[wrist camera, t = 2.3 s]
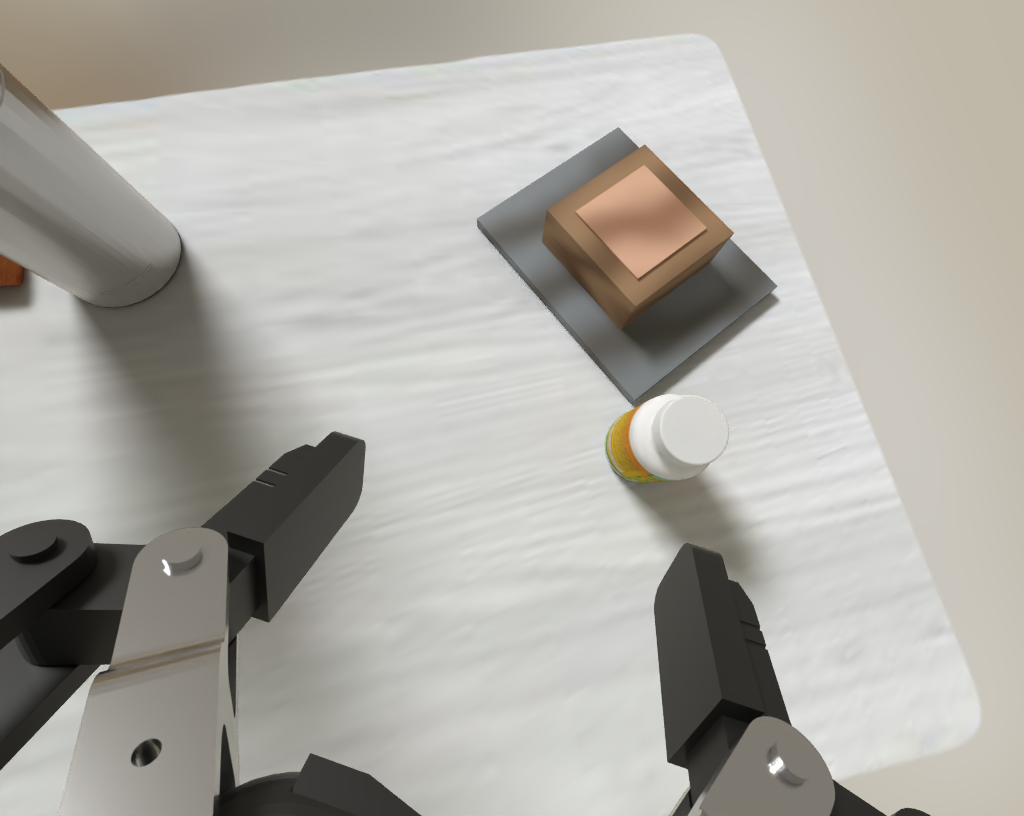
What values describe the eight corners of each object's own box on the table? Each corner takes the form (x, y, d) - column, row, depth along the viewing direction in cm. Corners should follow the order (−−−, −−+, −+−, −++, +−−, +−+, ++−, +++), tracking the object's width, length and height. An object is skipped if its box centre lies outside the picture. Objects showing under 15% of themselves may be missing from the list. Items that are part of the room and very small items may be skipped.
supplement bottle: (616, 492, 34) (666, 491, 25) (593, 423, 35) (634, 397, 26) (682, 471, 35) (757, 462, 25) (658, 404, 36) (721, 371, 26)
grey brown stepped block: (477, 226, 40) (474, 182, 35) (615, 136, 42) (631, 83, 37) (631, 403, 36) (652, 383, 31) (770, 292, 39) (811, 257, 34)
